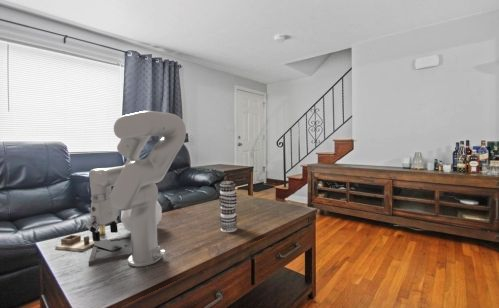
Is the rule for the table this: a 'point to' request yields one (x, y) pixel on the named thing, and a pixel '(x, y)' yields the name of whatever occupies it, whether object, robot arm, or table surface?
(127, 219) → the geometric orb
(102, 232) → the brass pin
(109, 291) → the table surface
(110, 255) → the picture frame
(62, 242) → the board
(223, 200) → the decorative candle
